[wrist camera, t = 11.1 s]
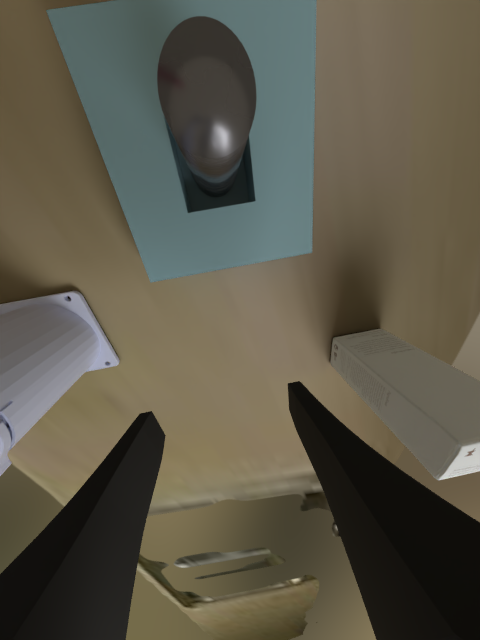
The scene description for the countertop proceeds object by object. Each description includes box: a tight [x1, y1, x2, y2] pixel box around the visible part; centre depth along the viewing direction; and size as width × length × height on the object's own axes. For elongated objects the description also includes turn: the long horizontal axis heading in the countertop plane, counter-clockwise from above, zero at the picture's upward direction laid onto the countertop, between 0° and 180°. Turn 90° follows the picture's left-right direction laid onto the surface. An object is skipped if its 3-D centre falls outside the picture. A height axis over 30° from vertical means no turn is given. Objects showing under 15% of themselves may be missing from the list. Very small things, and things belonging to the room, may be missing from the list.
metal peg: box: [157, 16, 257, 197], centre depth 9 cm, size 3×3×8 cm
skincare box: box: [330, 329, 480, 480], centre depth 16 cm, size 6×4×12 cm
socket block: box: [46, 0, 316, 282], centre depth 12 cm, size 12×12×3 cm
